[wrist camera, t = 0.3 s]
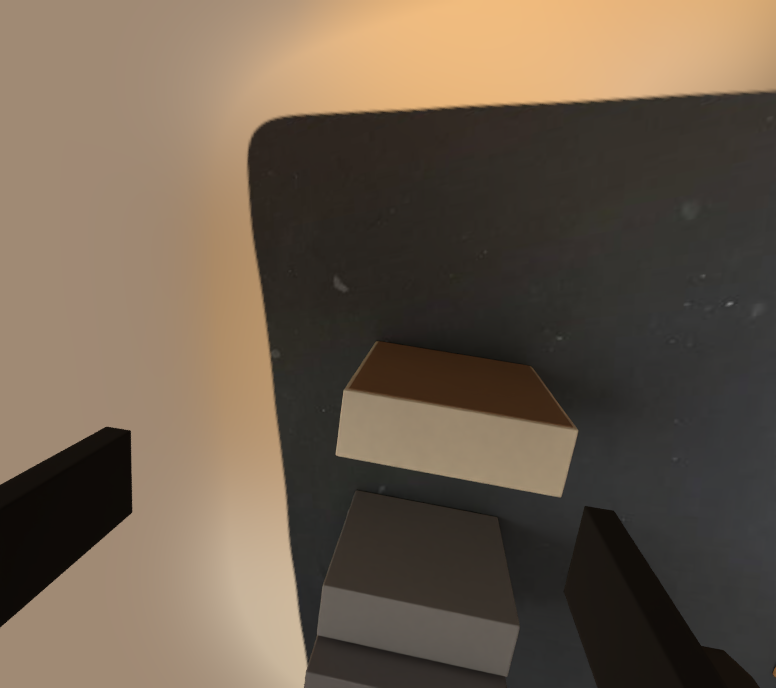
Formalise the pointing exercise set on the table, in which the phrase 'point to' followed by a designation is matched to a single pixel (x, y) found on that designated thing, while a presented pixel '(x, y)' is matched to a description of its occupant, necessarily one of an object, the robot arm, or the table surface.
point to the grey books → (415, 600)
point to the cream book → (456, 419)
